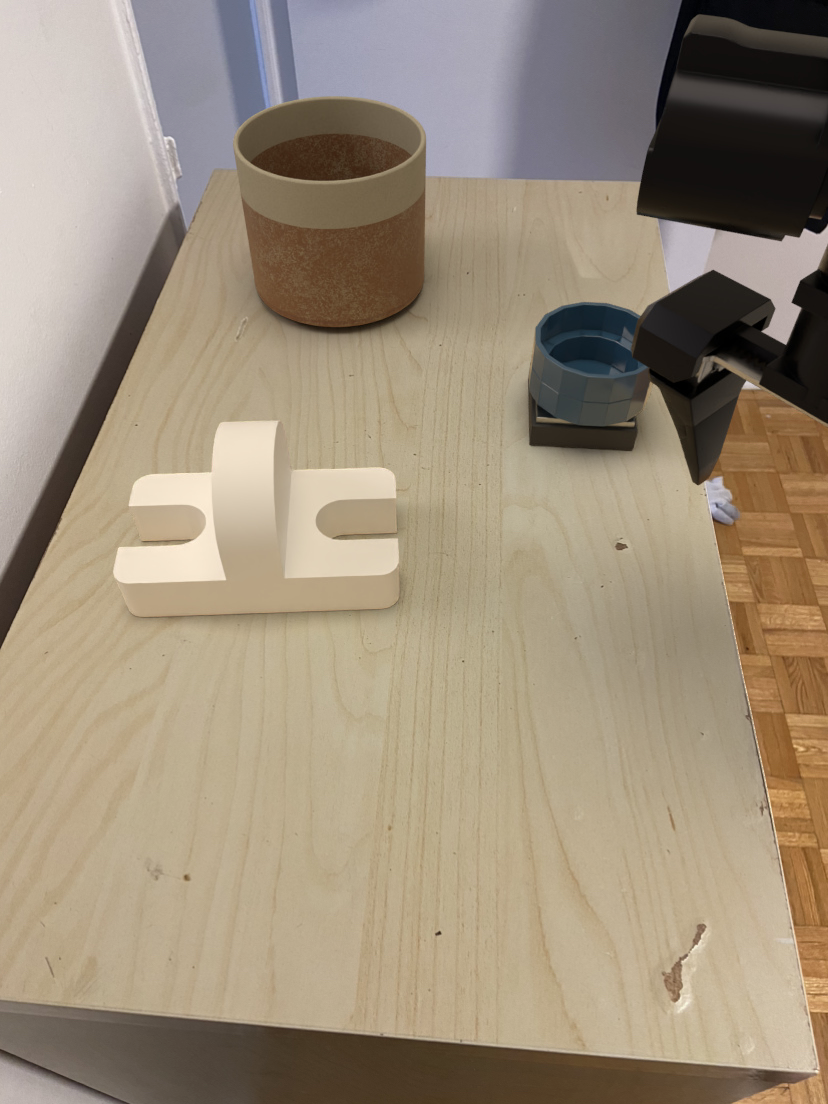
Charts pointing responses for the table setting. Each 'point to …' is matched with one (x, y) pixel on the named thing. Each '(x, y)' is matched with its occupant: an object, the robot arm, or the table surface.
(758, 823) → the table surface
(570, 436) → the scale
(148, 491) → the slotted base with upright
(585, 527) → the table surface
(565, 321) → the bowl
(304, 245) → the planter
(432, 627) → the table surface
